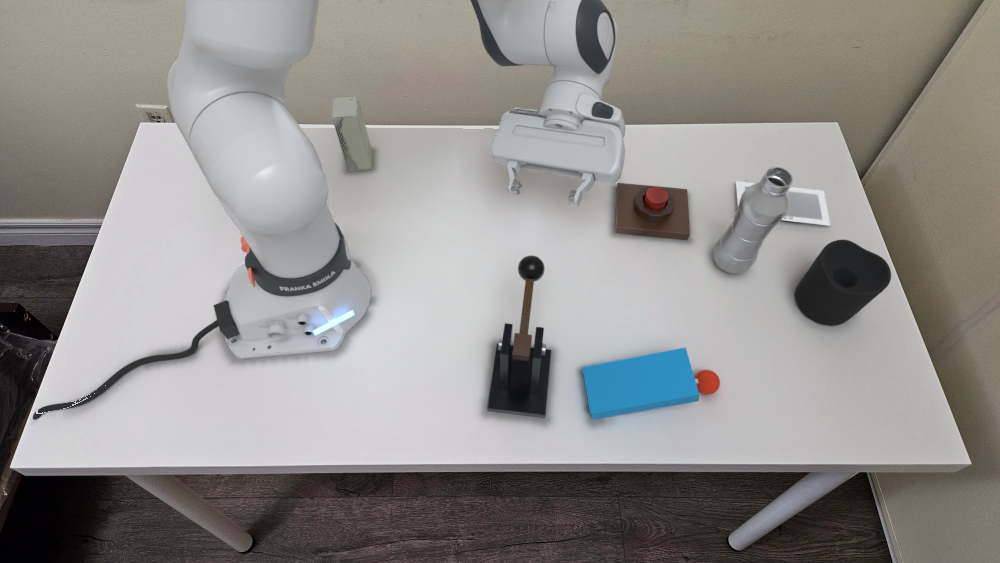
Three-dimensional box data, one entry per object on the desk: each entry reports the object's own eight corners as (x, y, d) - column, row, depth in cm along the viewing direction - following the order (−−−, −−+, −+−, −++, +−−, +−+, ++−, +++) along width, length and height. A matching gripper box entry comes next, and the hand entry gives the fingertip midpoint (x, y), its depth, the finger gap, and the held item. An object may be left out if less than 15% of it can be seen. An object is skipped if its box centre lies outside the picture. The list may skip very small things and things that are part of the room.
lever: (519, 261, 80) (519, 249, 77) (545, 263, 80) (546, 252, 76) (507, 359, 74) (506, 352, 71) (534, 363, 74) (535, 355, 71)
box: (349, 152, 108) (331, 96, 97) (372, 150, 108) (358, 94, 97) (348, 172, 105) (330, 117, 94) (372, 170, 105) (357, 115, 94)
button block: (615, 233, 97) (618, 220, 94) (616, 189, 102) (619, 175, 99) (687, 240, 96) (693, 227, 93) (684, 195, 101) (690, 181, 98)
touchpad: (733, 185, 103) (737, 176, 101) (820, 194, 101) (826, 186, 99) (736, 219, 98) (740, 210, 97) (827, 229, 97) (833, 221, 95)
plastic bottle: (747, 246, 95) (799, 160, 78) (752, 281, 92) (808, 197, 75) (707, 243, 96) (751, 156, 79) (711, 277, 92) (758, 194, 75)
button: (644, 209, 96) (646, 202, 94) (643, 192, 98) (646, 185, 96) (665, 211, 95) (668, 204, 94) (665, 194, 97) (667, 187, 96)
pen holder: (807, 333, 86) (839, 298, 78) (781, 281, 91) (809, 243, 83) (865, 324, 87) (904, 289, 79) (836, 273, 92) (869, 235, 84)
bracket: (497, 347, 85) (496, 302, 75) (550, 353, 85) (557, 309, 74) (487, 411, 80) (485, 373, 69) (544, 418, 79) (551, 381, 69)
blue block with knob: (597, 429, 83) (726, 407, 80) (590, 414, 77) (728, 389, 74) (589, 384, 87) (712, 361, 83) (582, 367, 81) (713, 341, 78)
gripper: (499, 95, 88) (472, 177, 86) (632, 111, 81) (606, 202, 78) (511, 116, 94) (485, 194, 91) (635, 133, 87) (611, 218, 84)
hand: (542, 198), depth 85 cm, fingers open, 8 cm apart
